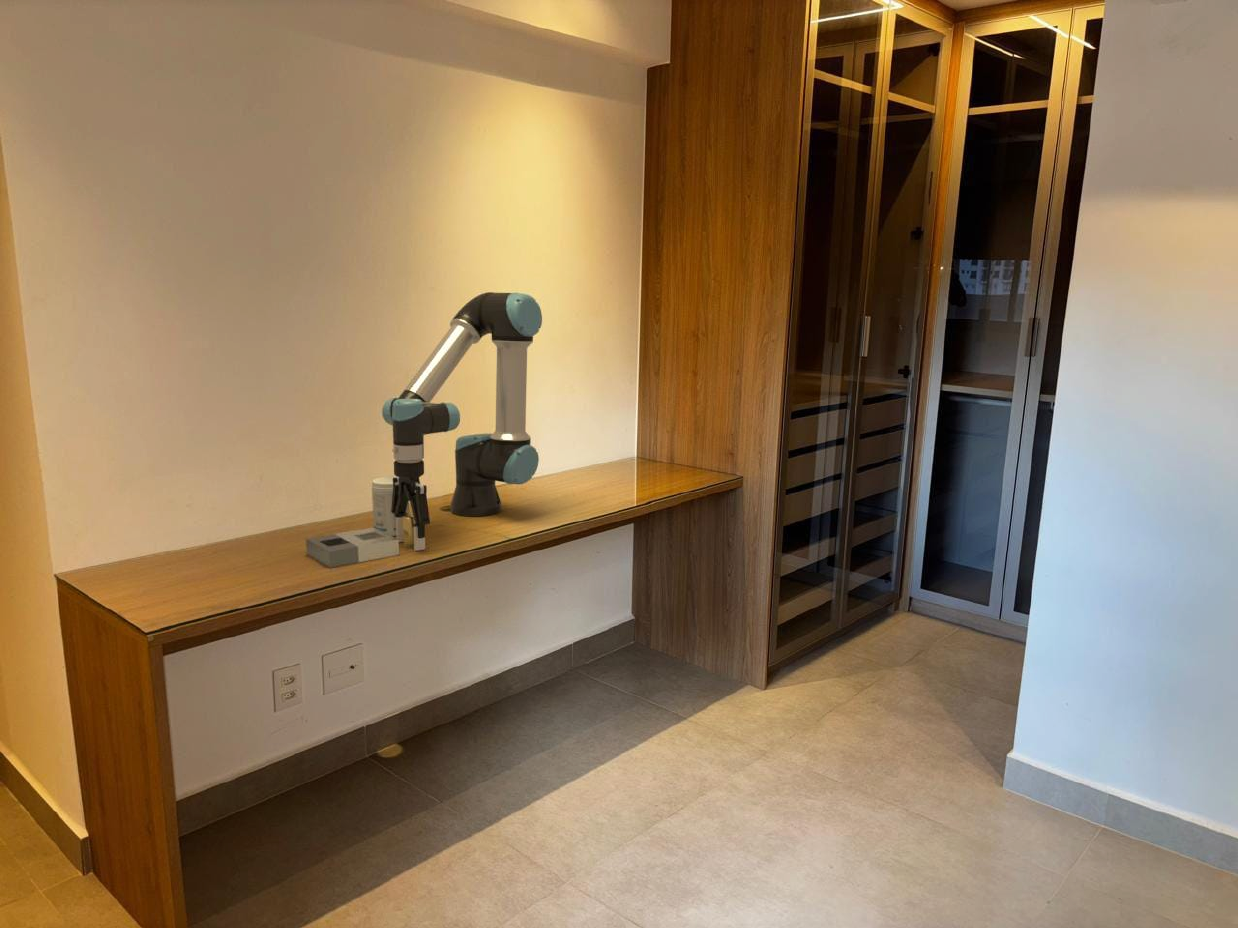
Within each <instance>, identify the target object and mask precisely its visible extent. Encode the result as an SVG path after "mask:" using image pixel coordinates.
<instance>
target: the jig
mask: <svg viewBox="0 0 1238 928" xmlns="http://www.w3.org/2000/svg"><path fill="white" fill-rule="evenodd" d="M399 543H400V542H399V539H397V537H396V536H391V535H389V534H386V533H384V532H382V531H380V530H378V529H376V528H374V526H373V527H368V528H363V529H361V528H360V529H356V530H355V529H354V530H350V531H343V532H338V533H332V534H326V535H321V536H313V537H308V538H305V544H306V545H305V547H306V555H308V557H311V558H313V559H314V560H316V561H317V562H319V563H320V564H322V565H324V566H325V567H327V568H328V569H331V568H337V567H343V566H348V565H352V564H358V563H363V562H369V561H373V560H378V559H383V558H388V557H389V558H390V557H394V556H395V557H396V556H399V555H400V546H399V545H400V544H399Z"/></svg>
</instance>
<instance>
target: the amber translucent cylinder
mask: <svg viewBox="0 0 1238 928" xmlns="http://www.w3.org/2000/svg"><path fill="white" fill-rule="evenodd" d="M402 517H403V543H402V545H403V548H405V549H414V526H413V525H414V524H415V520H414V515H413V513H412V514H411V513H409V514H408V515H404V516H402Z"/></svg>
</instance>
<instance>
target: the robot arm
mask: <svg viewBox="0 0 1238 928" xmlns="http://www.w3.org/2000/svg"><path fill="white" fill-rule="evenodd" d="M542 324H543V315H542V309H541V307H540V304H539V302H537V300H536V299H535V298H534V297H533V296H531V295H529V294H527V293H519V292H493V291H492V292H491V291H489V292H488V291H487V292H483V293H481V294H478V295H477V296H475V297H473V298H472V299H470V300H469V301H468V302H467V303H465V305H463V307H461V309H460V310H458V311H457V313H456V314H455V315H454V317H453V318H452V319H451V320H450V323H449V326H450V328H449V329H448V330H447V332H446V334H445V335H444V336H443V337H442V339H441V340H440V341H439V342H438V344H437V345H436V346H435V348H434V350H433V351H432V352H431V354H430V355H429V356H428V358H427V359H426V360H425V361H424V362H423V364H422V365H421V367H420V368H419V370H417V372H416V374H415V375H414V376H413V378H412V379H411V380H410V382H409V383H408V384H407V385H406V387H405V389H404V390H403V392H401V394H400V395H399V397H393V398H392V397H391V398H389V399H388V400H386V401H385V402H384V403H383V406H382V408H381V414H382V418H383V421H384V422H385V423H387V424H388V425H390V426H392V442H393V447H392V448H393V449H392V452H393V459H394V461H393V476H394V477H396V478H393V495H392V506H391V512H392V513H394V515H395V517H396V536H395V537H396V538H397V539H399V543H402V542H403V517H402V516H404V515H407V513H406V508H407V504H408V501H409V503H410V507H411V511H412V514H413V515H414V520H415V524H414V525H413V526H414V548H413V550H414V551H415V552H416V551H418V552H419V551H423V550H426V531H425V530H426V526H427V525H429V524H430V523H431V520H430V511H429V505H428V496H427V492H428V487H427V485H426V484H425V485H424V484H423V485H422V484H421V482H420V481H421V480H420V477H422V476H423V475H424V474H425V462H424V460H423V459H424V458H425V450H424V449H425V446H424V445H425V444H424V443H425V442H424V439H425V438H424V436H426V435H433V434H438V433H448V432H451V431H453V430H456V429H457V428H458V427H459V426H460V423H461V414H460V413H461V412H460V410H459V408H458V407H457V405H455V404H454V403H451V402H441V403H433V402H432V400H433V399H434V397H435V396H436V395H437V393H438V392H440V390H441V388H442V387H443V386H444V384H445V382H447V380H448V378H449V376H451V374H452V373H453V372H454V371H455V369H456V367H458V365H459V363H460V362H461V361H462V359H463V358H464V356H465V355H466V354H467V352H468V351H469V350H470V348H471V347H472V345H473V344H478V343H479V342H480V340H481V339H482V338H483V337H484V336H486V335H489V334H491V342H492V343H493V344H494V346H495V347H496V374H495V376H496V379H495V380H496V381H495V384H496V385H495V387H496V388H495V391H496V392H495V430H494V431H493V433H479V434H478V433H477V434H469V435H463V436H459V437H458V438H456V441H455V449H454V459H455V460H454V461H455V488H454V491H453V495H452V498H451V502H450V512H451V513H452V514H454V515H457V516H464V517H485V516H491V515H496V514H498V513H500V512H501V511H502V501H501V497H500V495H499V492H498V489H497V486H496V482H499V483H505V484H508V485H524V484H526V483H527V482H529V481H530V480H531V479H532V477H533V476H534V475H535V474H536V472H537V469H538V466H539V462H540V461H539V460H540V459H539V453H538V451H537V449H536V447H534V446H532V445H531V440H532V439H531V438H532V437H531V435H529V434H528V433H527V431H526V423H527V422H526V421H527V420H526V419H527V384H528V383H527V380H528V379H527V376H528V375H527V372H528V348H529V347H530V346H531V345H532V344H533V343H534V341H533V340H534V336H535V335H536V334H538V333H539V331H540V329H541V327H542ZM431 402H432V403H431ZM395 507H396V508H395Z"/></svg>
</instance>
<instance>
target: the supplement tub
mask: <svg viewBox="0 0 1238 928" xmlns="http://www.w3.org/2000/svg"><path fill="white" fill-rule="evenodd" d="M396 477H397V476H383V477H382V476H381V477H377V478H374V479H373V480H372V481H371V497H372V514H373V527H374V528H376V529H378V530H380V531H382V532H384V533H386V534H389V535H391V536H393V537H397V536H396V517H395V515H394V513H392V512H391V506H392V495H393V478H396ZM409 503H410V501H408V504H407V508H406V513H407V515H408V514H410V504H409ZM395 508H396V507H395Z"/></svg>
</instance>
